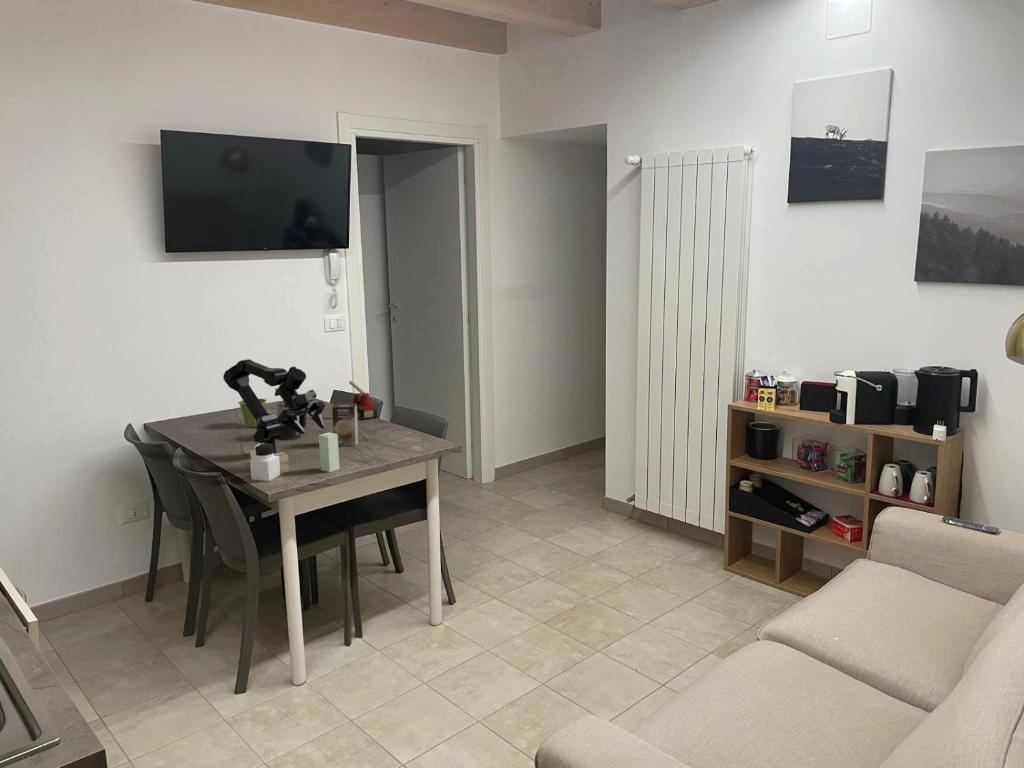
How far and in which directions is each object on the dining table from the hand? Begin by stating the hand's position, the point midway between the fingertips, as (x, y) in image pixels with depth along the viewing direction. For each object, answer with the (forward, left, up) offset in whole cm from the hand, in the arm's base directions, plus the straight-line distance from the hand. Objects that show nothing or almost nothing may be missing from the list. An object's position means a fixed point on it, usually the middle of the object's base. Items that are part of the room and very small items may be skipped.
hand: (313, 430), depth 276 cm
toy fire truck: (-71, +27, -14) cm, 77 cm away
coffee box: (-26, +14, -14) cm, 33 cm away
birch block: (+1, -13, -13) cm, 18 cm away
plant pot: (-71, -20, -14) cm, 75 cm away
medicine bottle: (+7, -18, -14) cm, 23 cm away
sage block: (+6, +4, -13) cm, 15 cm away
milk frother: (-49, -8, -14) cm, 52 cm away
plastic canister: (-4, -20, -13) cm, 24 cm away
